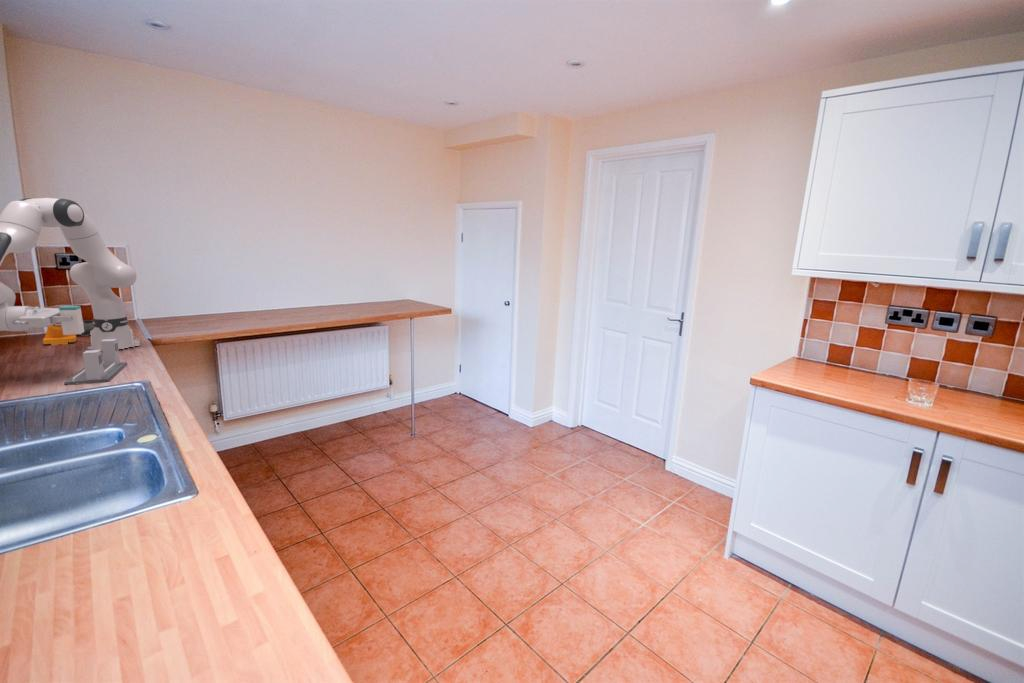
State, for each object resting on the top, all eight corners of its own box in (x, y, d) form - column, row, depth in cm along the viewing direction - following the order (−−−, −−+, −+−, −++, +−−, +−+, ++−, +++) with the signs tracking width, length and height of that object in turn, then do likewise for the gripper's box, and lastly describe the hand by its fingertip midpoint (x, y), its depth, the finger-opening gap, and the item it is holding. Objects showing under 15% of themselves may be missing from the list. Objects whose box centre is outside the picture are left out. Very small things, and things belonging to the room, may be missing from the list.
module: (68, 332, 172) (63, 305, 170) (84, 331, 174) (80, 305, 172) (63, 334, 168) (58, 307, 166) (79, 334, 170) (75, 307, 168)
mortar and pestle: (101, 332, 242) (97, 310, 240) (101, 336, 235) (98, 312, 233) (71, 335, 235) (68, 311, 232) (71, 338, 228) (67, 314, 225)
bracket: (43, 346, 212) (38, 320, 210) (45, 342, 218) (41, 317, 215) (75, 343, 219) (71, 318, 216) (76, 340, 224) (73, 316, 222)
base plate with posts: (88, 367, 183) (84, 339, 181) (127, 364, 189) (123, 338, 186) (64, 385, 162) (59, 354, 159) (108, 381, 167) (104, 352, 165)
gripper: (6, 314, 154) (62, 313, 160) (34, 305, 172) (83, 304, 178) (10, 332, 155) (64, 330, 161) (37, 322, 173) (85, 320, 179)
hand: (74, 317), depth 170 cm, fingers closed on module, 5 cm apart
